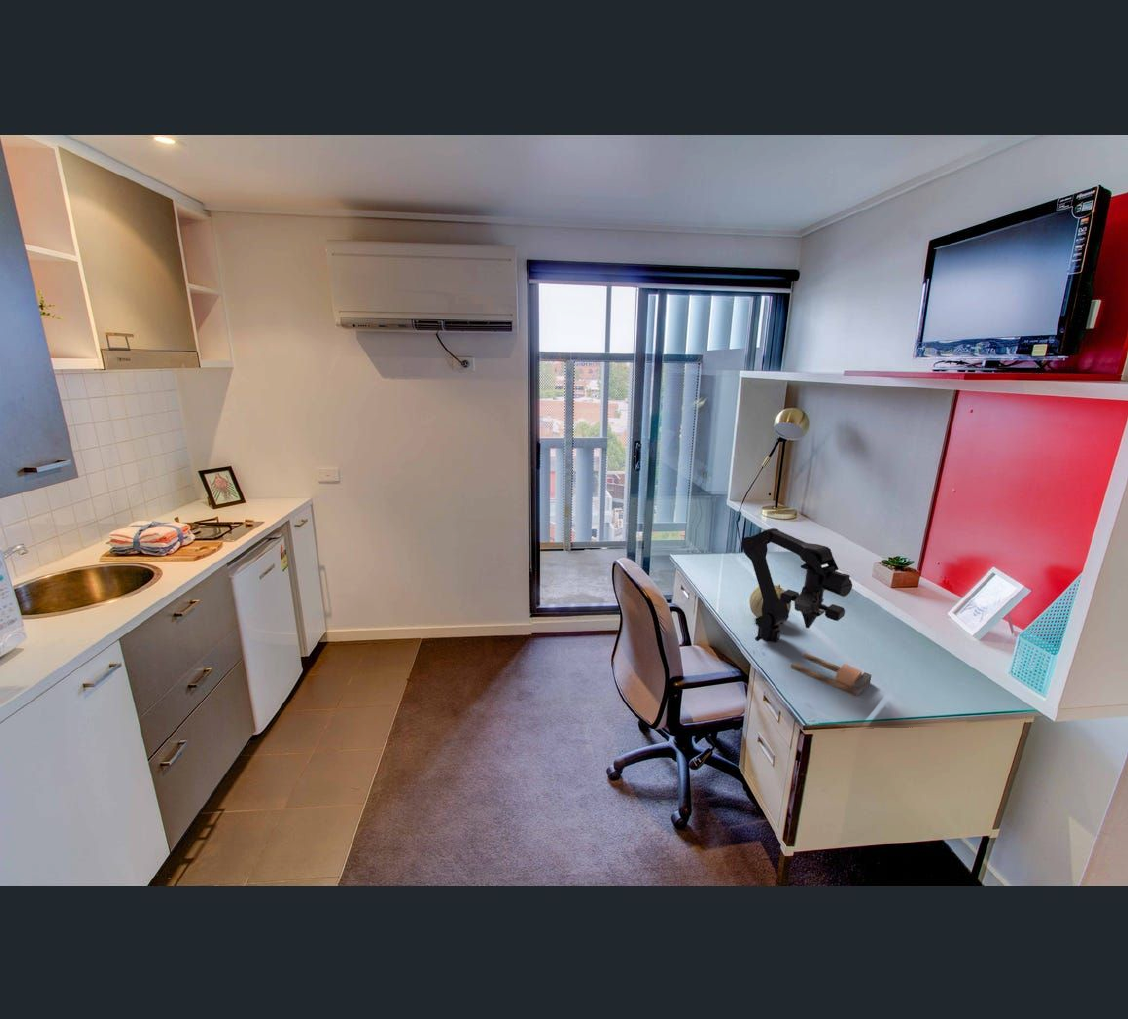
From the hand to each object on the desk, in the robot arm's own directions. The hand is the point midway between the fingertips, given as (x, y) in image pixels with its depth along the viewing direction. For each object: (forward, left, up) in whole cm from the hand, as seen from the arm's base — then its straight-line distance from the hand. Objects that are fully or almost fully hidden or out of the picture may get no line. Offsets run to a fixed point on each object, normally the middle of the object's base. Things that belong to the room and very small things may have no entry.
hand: (807, 627), depth 163 cm
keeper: (+15, -4, -11) cm, 19 cm away
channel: (+10, -4, -12) cm, 16 cm away
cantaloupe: (-21, +17, -12) cm, 30 cm away
